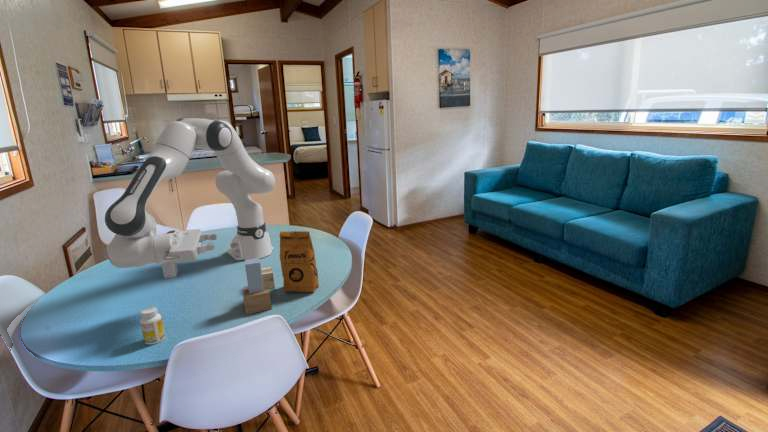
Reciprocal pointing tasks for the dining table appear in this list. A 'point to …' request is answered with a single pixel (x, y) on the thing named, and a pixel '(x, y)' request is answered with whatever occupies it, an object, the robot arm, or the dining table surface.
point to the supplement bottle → (152, 326)
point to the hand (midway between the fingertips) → (215, 241)
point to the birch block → (268, 277)
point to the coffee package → (298, 262)
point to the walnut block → (257, 300)
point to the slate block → (254, 275)
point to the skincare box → (169, 269)
